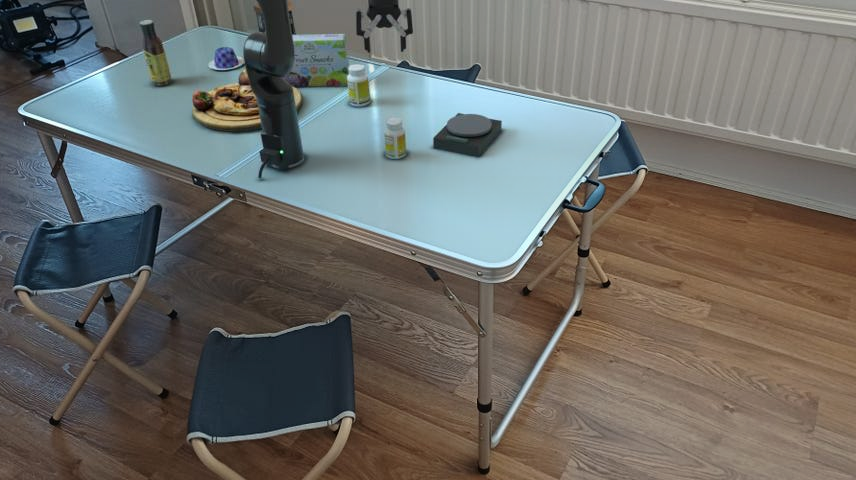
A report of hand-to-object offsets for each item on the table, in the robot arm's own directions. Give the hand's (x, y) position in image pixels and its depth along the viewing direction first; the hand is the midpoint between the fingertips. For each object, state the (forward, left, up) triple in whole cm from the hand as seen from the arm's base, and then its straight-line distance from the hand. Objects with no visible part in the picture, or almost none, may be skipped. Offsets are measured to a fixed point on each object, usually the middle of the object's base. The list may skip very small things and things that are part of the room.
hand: (385, 51), depth 186 cm
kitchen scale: (+4, -21, -23) cm, 31 cm away
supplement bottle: (-11, -7, -23) cm, 26 cm away
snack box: (+20, +38, -23) cm, 49 cm away
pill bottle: (+13, +18, -23) cm, 32 cm away
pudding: (+22, +75, -23) cm, 82 cm away
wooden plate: (-3, +47, -23) cm, 52 cm away
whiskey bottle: (+30, +58, -23) cm, 69 cm away
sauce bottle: (+2, +85, -23) cm, 88 cm away
